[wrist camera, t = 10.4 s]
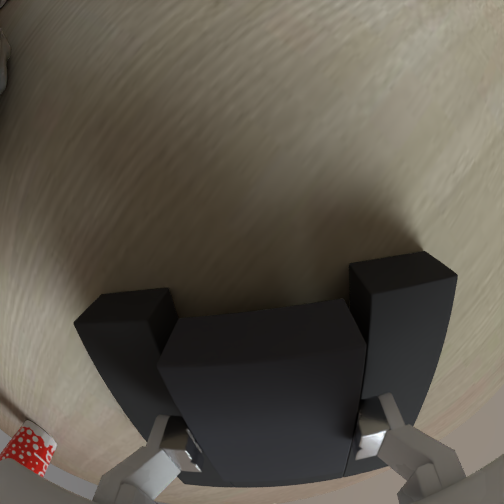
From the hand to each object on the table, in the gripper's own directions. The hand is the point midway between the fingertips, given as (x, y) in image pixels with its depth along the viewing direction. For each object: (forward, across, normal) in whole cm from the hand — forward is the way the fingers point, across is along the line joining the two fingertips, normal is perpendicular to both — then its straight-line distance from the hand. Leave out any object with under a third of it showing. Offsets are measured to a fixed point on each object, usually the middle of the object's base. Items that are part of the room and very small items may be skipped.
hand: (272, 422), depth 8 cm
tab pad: (+2, 0, 0) cm, 2 cm away
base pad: (+4, 0, +3) cm, 4 cm away
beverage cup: (+4, +27, +13) cm, 30 cm away
